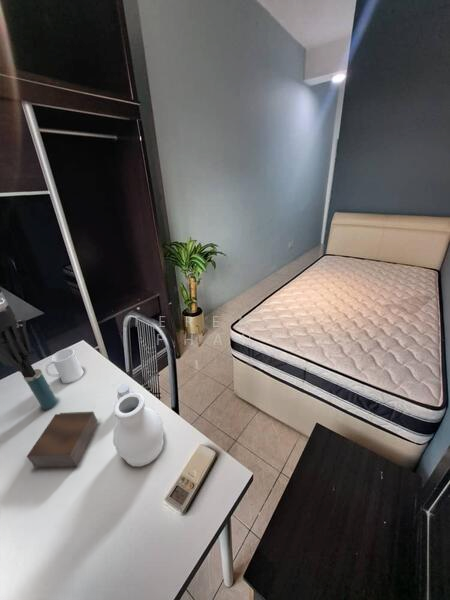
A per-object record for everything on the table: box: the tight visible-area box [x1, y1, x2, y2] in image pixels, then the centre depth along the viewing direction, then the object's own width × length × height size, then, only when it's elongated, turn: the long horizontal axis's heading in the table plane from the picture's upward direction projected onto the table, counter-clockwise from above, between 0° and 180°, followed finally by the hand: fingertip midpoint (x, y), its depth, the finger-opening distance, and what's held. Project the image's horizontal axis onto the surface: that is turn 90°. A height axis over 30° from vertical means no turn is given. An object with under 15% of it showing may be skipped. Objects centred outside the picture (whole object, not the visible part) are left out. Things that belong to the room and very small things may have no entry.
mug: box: [45, 348, 84, 384], centre depth 103 cm, size 12×8×12 cm
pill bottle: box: [116, 383, 134, 401], centre depth 89 cm, size 5×5×9 cm
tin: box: [23, 368, 58, 411], centre depth 90 cm, size 5×5×16 cm
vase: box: [112, 392, 165, 467], centre depth 73 cm, size 14×14×20 cm
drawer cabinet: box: [26, 413, 99, 469], centre depth 77 cm, size 14×13×7 cm
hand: (30, 375), depth 76 cm, fingers closed
